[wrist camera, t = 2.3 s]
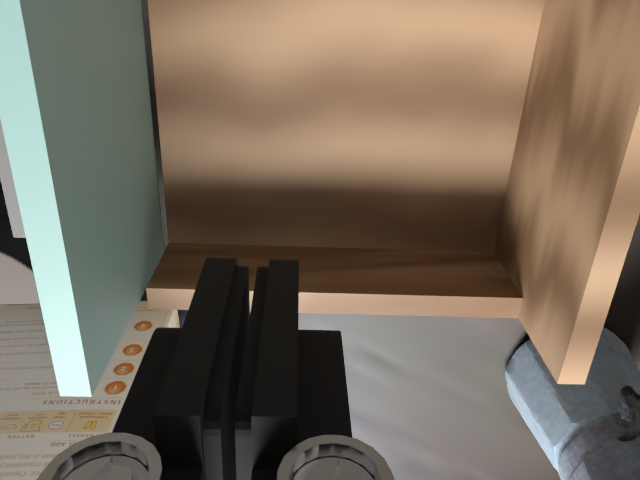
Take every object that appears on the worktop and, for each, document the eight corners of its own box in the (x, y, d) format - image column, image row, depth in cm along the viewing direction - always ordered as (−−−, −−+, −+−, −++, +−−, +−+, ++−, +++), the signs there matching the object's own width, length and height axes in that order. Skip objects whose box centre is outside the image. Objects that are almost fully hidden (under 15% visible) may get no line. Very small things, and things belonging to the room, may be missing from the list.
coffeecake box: (-12, 383, 41) (-248, 691, 24) (-41, 301, 38) (-338, 588, 21) (190, 378, 41) (104, 681, 24) (178, 296, 38) (68, 577, 21)
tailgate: (80, -141, 24) (-110, -228, 13) (128, -139, 24) (-21, -223, 13) (129, 250, 32) (38, 395, 21) (164, 251, 32) (91, 396, 21)
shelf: (154, -175, 26) (15, -300, 14) (567, -153, 27) (790, -252, 15) (185, 250, 37) (121, 400, 24) (486, 259, 37) (576, 409, 25)
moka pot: (510, 450, 45) (643, 769, 27) (478, 296, 39) (624, 584, 21) (630, 422, 44) (850, 736, 26) (618, 259, 37) (901, 529, 20)
